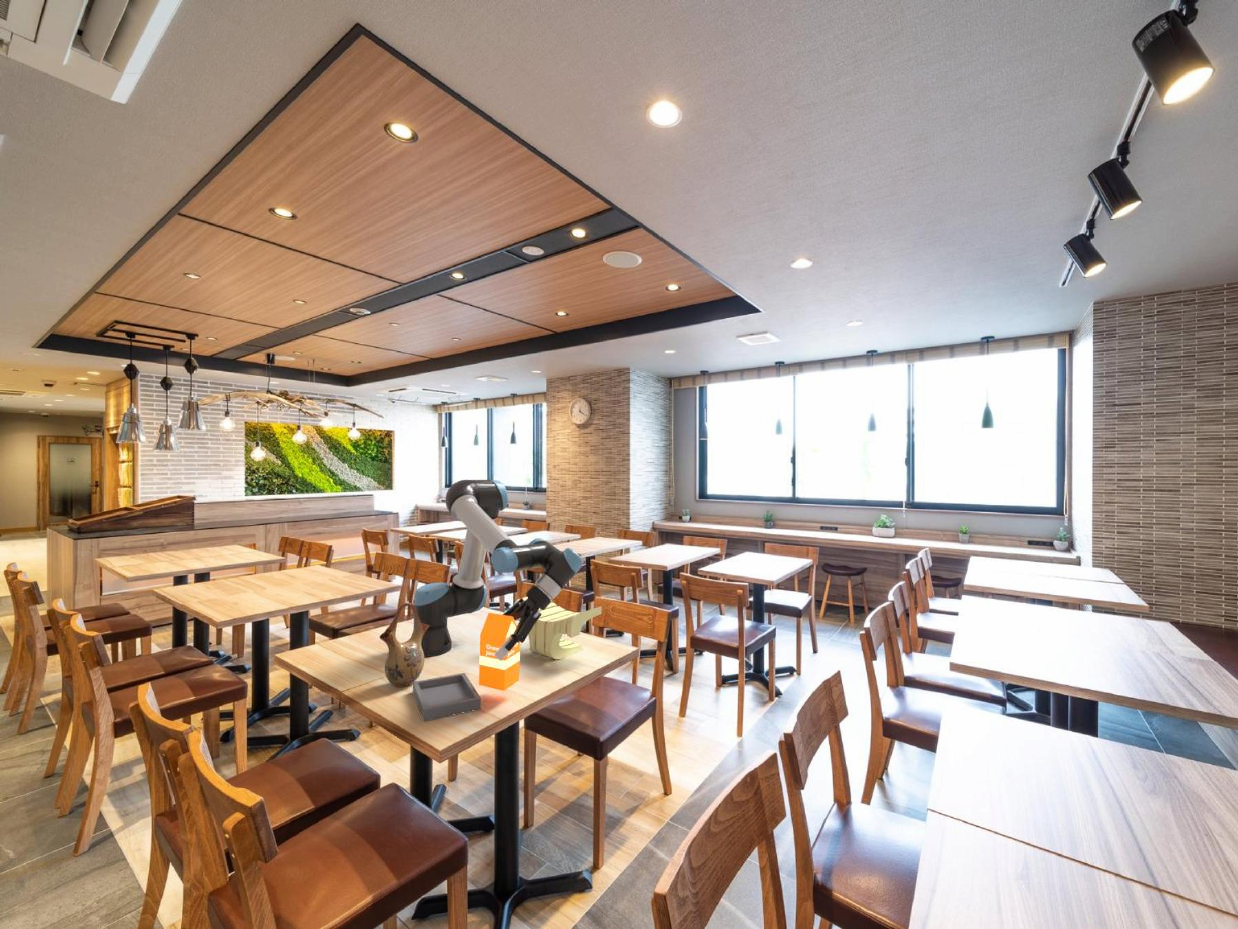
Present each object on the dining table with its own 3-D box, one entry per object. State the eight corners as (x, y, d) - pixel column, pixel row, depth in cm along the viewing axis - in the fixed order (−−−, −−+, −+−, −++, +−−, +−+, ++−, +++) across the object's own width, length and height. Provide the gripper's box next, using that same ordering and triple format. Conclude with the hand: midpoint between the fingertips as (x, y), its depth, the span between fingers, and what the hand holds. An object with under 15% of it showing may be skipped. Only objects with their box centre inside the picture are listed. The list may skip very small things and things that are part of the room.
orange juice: (494, 674, 154) (496, 609, 153) (519, 680, 150) (521, 613, 150) (478, 685, 146) (479, 616, 146) (504, 691, 143) (505, 620, 143)
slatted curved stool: (511, 648, 189) (512, 600, 189) (542, 637, 202) (543, 593, 202) (570, 668, 171) (571, 615, 171) (600, 655, 183) (601, 606, 184)
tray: (412, 692, 150) (413, 682, 150) (464, 682, 158) (464, 672, 158) (423, 721, 133) (423, 710, 133) (480, 709, 140) (481, 698, 141)
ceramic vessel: (388, 697, 146) (390, 610, 147) (370, 689, 151) (372, 605, 152) (436, 679, 160) (438, 599, 161) (418, 672, 165) (420, 595, 166)
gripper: (566, 610, 145) (512, 673, 138) (537, 591, 166) (489, 645, 158) (549, 593, 143) (493, 657, 135) (522, 576, 164) (472, 630, 156)
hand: (491, 651), depth 147 cm, fingers closed on orange juice, 11 cm apart
